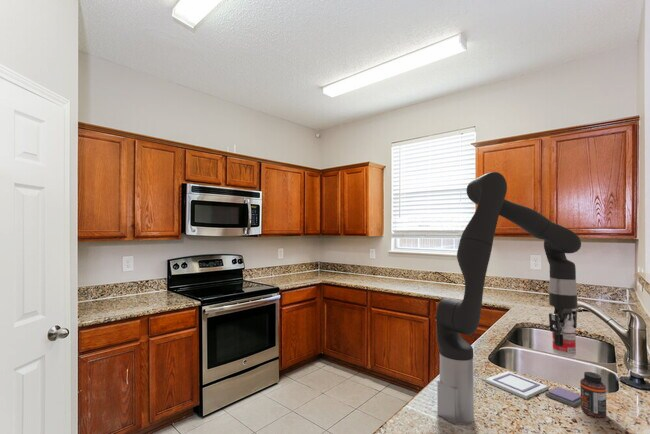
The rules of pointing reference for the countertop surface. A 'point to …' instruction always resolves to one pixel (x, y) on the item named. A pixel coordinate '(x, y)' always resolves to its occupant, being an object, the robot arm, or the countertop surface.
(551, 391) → the ink pad
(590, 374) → the supplement bottle
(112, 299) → the countertop surface
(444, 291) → the countertop surface
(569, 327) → the pill bottle
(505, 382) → the board
